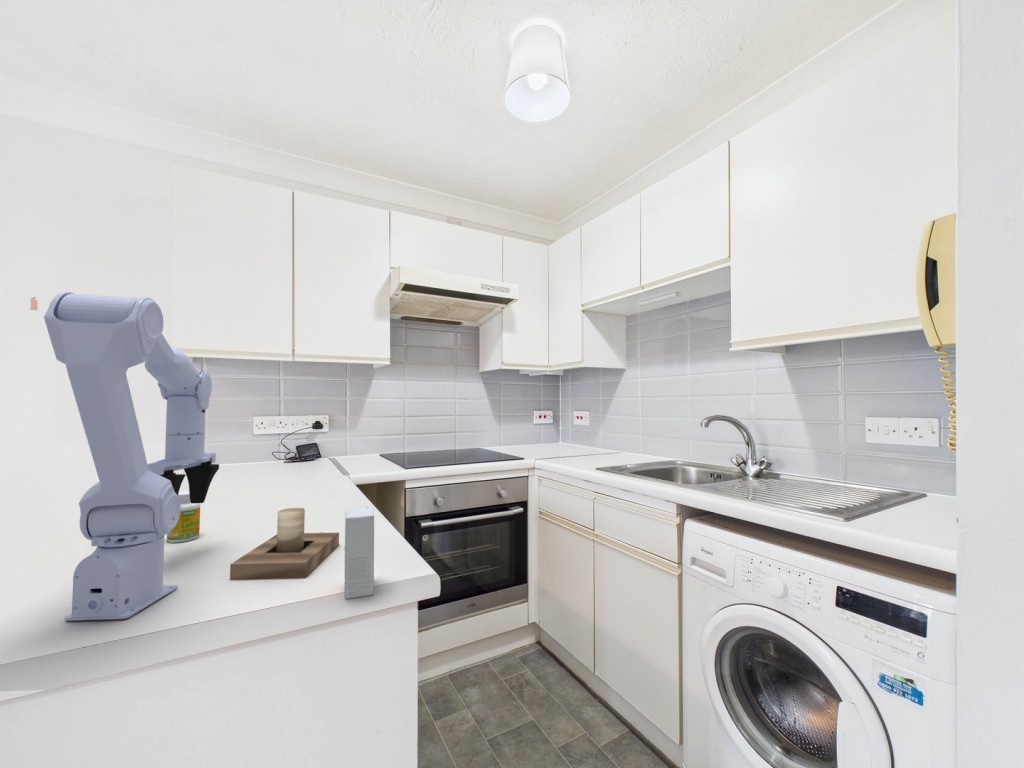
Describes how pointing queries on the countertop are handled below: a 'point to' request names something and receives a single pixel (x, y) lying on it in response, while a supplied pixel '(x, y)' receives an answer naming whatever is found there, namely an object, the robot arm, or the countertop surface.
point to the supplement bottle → (186, 521)
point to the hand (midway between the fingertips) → (183, 508)
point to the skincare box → (359, 552)
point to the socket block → (284, 558)
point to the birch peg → (290, 530)
